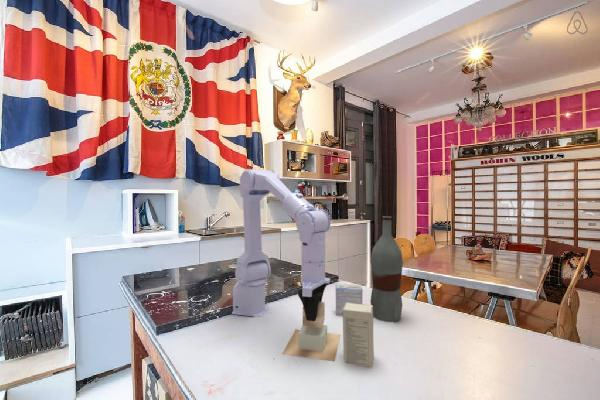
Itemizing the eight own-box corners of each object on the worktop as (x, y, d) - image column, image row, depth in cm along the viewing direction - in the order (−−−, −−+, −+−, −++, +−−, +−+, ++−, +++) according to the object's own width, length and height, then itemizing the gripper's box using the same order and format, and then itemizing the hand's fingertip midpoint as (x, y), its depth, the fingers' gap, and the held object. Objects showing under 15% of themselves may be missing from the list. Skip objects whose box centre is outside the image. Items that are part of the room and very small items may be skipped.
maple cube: (302, 326, 69) (302, 307, 69) (306, 318, 73) (307, 300, 73) (321, 328, 68) (321, 309, 68) (324, 320, 72) (324, 302, 72)
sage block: (298, 348, 69) (298, 334, 69) (304, 336, 75) (304, 322, 74) (323, 351, 67) (323, 337, 67) (327, 338, 73) (327, 325, 73)
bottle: (367, 309, 92) (368, 215, 91) (396, 310, 91) (397, 215, 90) (373, 323, 82) (374, 218, 81) (406, 323, 82) (408, 218, 81)
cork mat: (282, 355, 67) (282, 353, 67) (295, 330, 78) (295, 329, 78) (334, 363, 64) (334, 361, 64) (340, 336, 75) (340, 334, 75)
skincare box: (374, 358, 65) (374, 304, 65) (372, 369, 61) (372, 312, 61) (345, 353, 68) (345, 301, 67) (342, 363, 63) (342, 308, 63)
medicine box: (360, 311, 90) (361, 284, 90) (362, 318, 86) (362, 289, 86) (335, 310, 91) (335, 283, 91) (335, 316, 87) (335, 288, 86)
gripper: (325, 269, 62) (324, 331, 63) (333, 254, 76) (333, 305, 77) (293, 267, 64) (293, 327, 64) (307, 253, 78) (307, 303, 78)
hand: (313, 315), depth 71 cm, fingers closed on maple cube, 4 cm apart
